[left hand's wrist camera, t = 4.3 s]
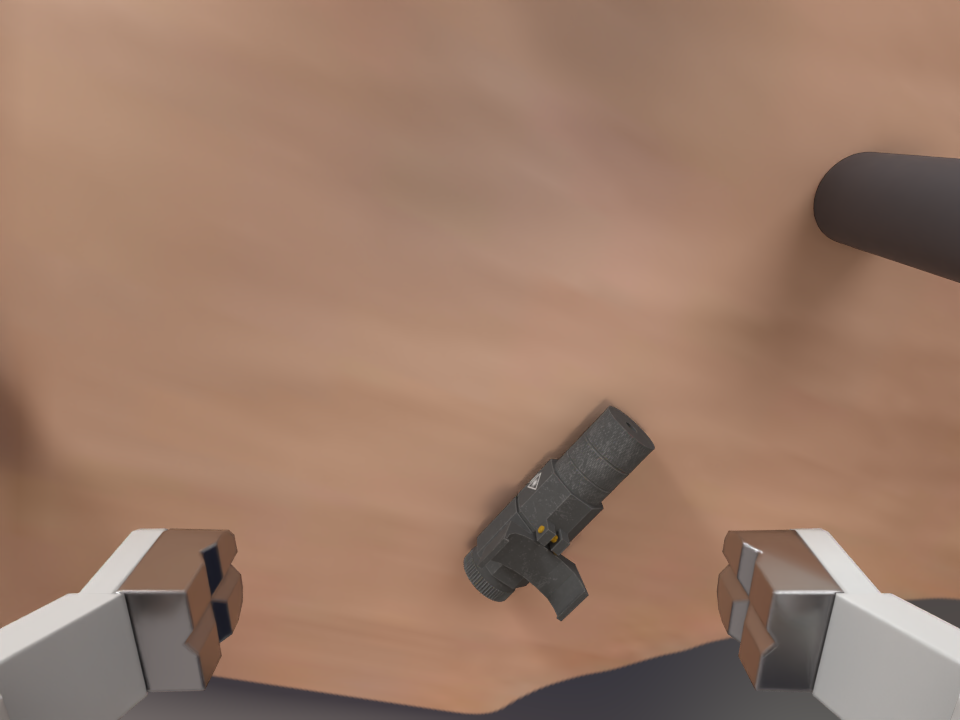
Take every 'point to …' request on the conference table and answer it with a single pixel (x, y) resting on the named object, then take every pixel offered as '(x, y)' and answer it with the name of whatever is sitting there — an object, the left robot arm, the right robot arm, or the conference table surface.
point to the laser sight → (556, 515)
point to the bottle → (895, 209)
